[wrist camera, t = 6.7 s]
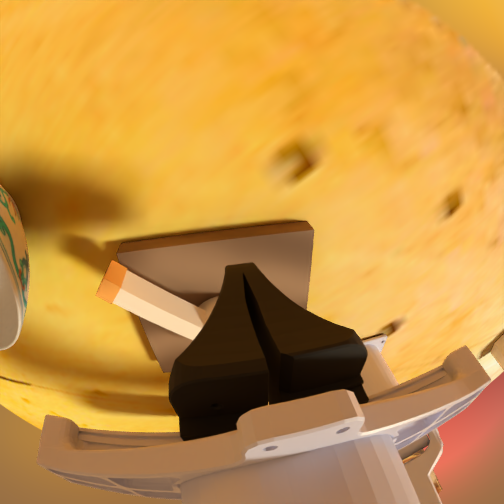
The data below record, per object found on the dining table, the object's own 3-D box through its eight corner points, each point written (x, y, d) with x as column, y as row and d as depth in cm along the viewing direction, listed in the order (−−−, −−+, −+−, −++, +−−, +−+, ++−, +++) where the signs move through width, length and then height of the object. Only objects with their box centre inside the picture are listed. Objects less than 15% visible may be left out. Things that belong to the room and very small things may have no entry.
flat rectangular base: (296, 343, 28) (300, 354, 27) (163, 361, 26) (163, 372, 25) (306, 221, 21) (314, 229, 19) (121, 243, 19) (116, 253, 18)
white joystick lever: (267, 311, 22) (276, 338, 20) (231, 346, 24) (235, 373, 21) (126, 233, 17) (114, 258, 14) (99, 284, 18) (88, 311, 16)
